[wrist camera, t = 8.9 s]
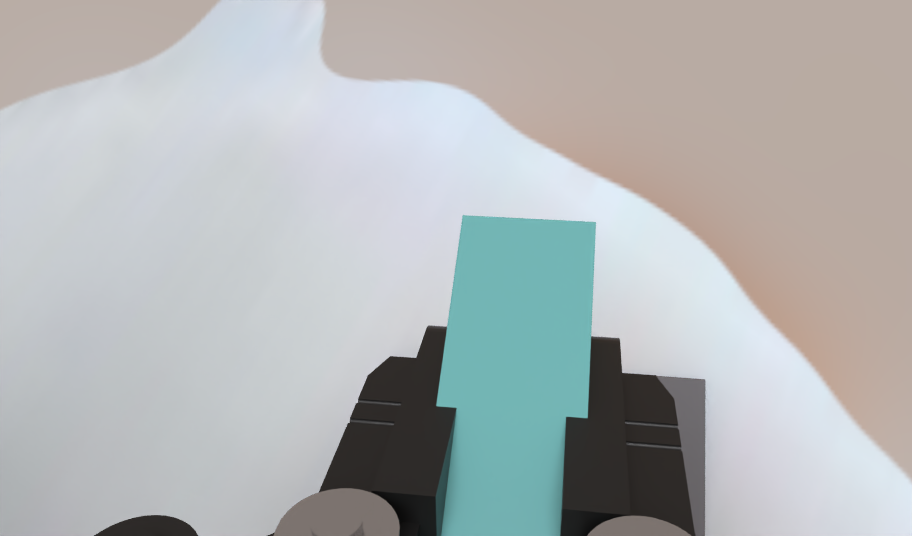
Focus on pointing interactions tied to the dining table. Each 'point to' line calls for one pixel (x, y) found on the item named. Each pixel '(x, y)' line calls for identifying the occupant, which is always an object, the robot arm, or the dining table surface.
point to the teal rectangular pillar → (515, 370)
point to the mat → (691, 439)
